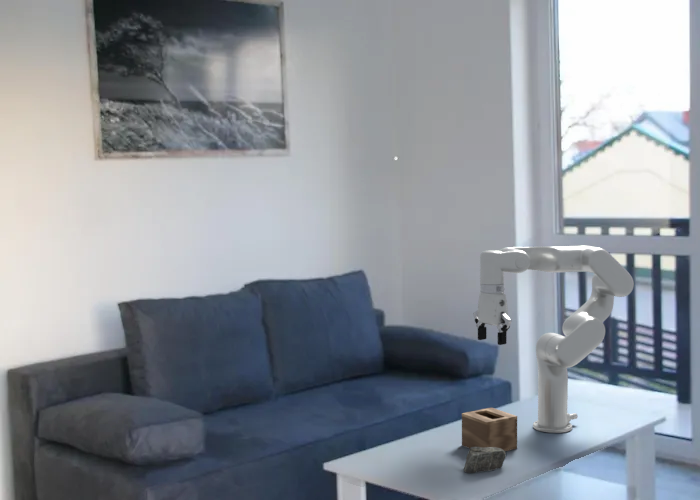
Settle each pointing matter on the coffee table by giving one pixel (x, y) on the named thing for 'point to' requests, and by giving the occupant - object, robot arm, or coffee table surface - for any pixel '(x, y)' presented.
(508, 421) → the box
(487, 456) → the stone
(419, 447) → the coffee table surface
